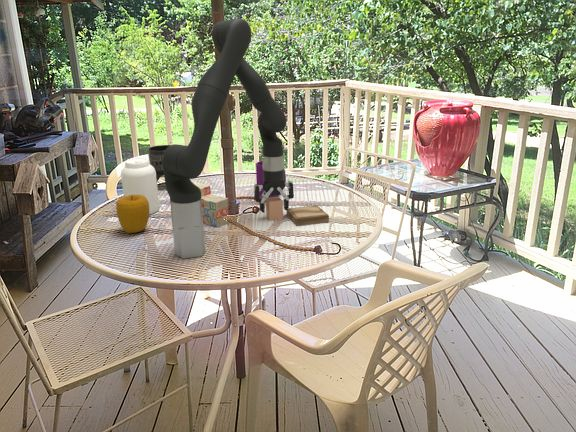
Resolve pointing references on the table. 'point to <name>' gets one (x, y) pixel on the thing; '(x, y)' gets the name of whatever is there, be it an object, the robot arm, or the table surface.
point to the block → (274, 208)
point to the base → (307, 215)
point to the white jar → (141, 181)
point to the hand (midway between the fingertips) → (274, 210)
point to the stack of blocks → (213, 206)
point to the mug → (260, 178)
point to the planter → (157, 159)
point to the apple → (133, 213)
